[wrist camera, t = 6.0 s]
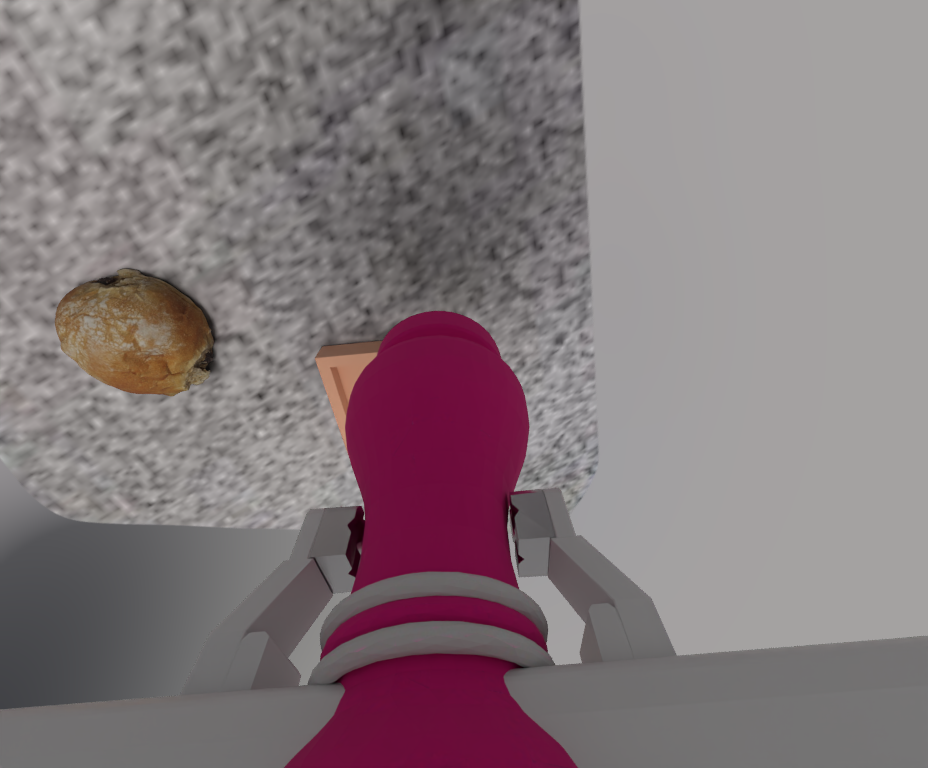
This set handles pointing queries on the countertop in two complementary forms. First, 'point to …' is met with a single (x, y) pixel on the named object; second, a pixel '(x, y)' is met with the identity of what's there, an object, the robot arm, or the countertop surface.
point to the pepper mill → (434, 565)
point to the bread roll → (135, 334)
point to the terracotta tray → (343, 373)
